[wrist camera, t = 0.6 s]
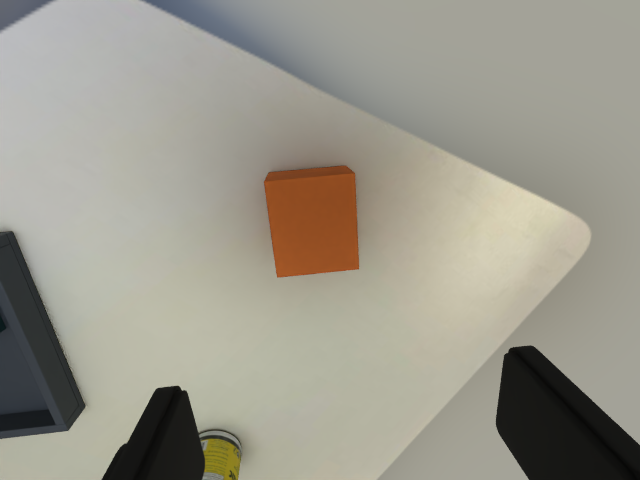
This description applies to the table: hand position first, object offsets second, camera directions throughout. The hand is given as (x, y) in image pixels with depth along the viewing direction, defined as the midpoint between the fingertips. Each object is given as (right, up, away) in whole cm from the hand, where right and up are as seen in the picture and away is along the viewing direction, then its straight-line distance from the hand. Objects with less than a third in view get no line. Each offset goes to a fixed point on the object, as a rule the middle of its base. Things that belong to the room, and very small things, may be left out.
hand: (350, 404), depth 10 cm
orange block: (-2, +7, +17) cm, 18 cm away
